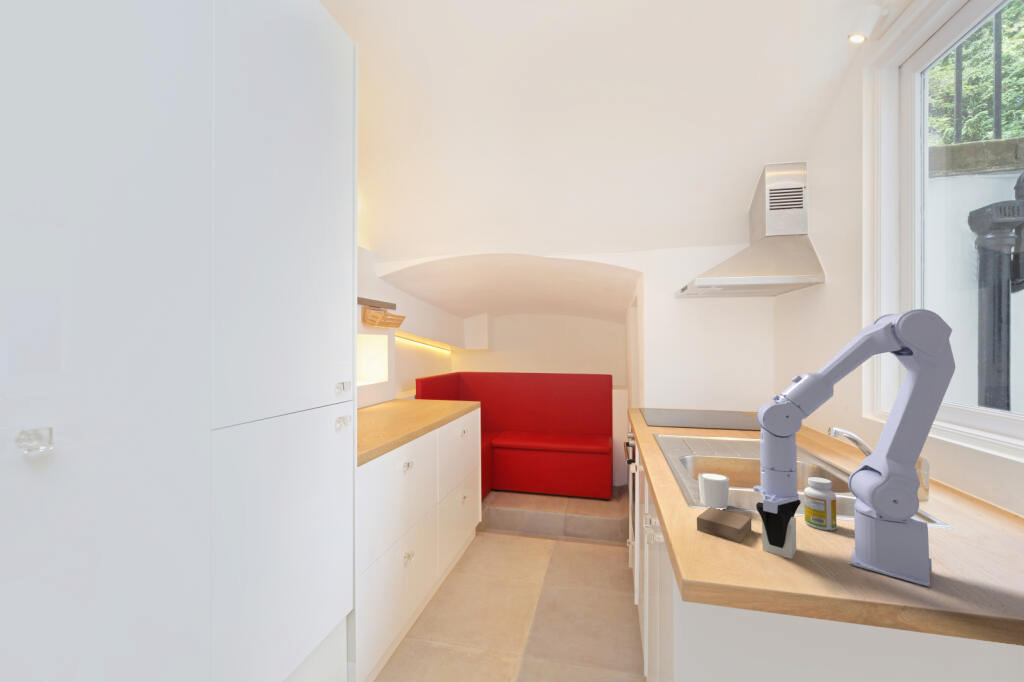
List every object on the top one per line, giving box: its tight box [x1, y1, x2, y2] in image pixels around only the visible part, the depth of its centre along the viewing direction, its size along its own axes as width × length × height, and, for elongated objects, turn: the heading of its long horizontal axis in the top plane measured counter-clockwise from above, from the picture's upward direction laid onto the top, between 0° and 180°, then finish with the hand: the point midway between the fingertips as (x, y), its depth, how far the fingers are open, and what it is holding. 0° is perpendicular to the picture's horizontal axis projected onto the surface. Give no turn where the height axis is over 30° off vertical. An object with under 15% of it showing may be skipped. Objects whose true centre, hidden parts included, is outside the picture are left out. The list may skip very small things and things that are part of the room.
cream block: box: [761, 516, 797, 560], centre depth 75 cm, size 4×4×6 cm
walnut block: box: [696, 507, 752, 544], centre depth 83 cm, size 8×8×3 cm
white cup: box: [697, 472, 730, 508], centre depth 96 cm, size 7×7×7 cm
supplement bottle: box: [803, 476, 838, 531], centre depth 86 cm, size 5×5×10 cm
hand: (779, 541), depth 74 cm, fingers closed on cream block, 4 cm apart
